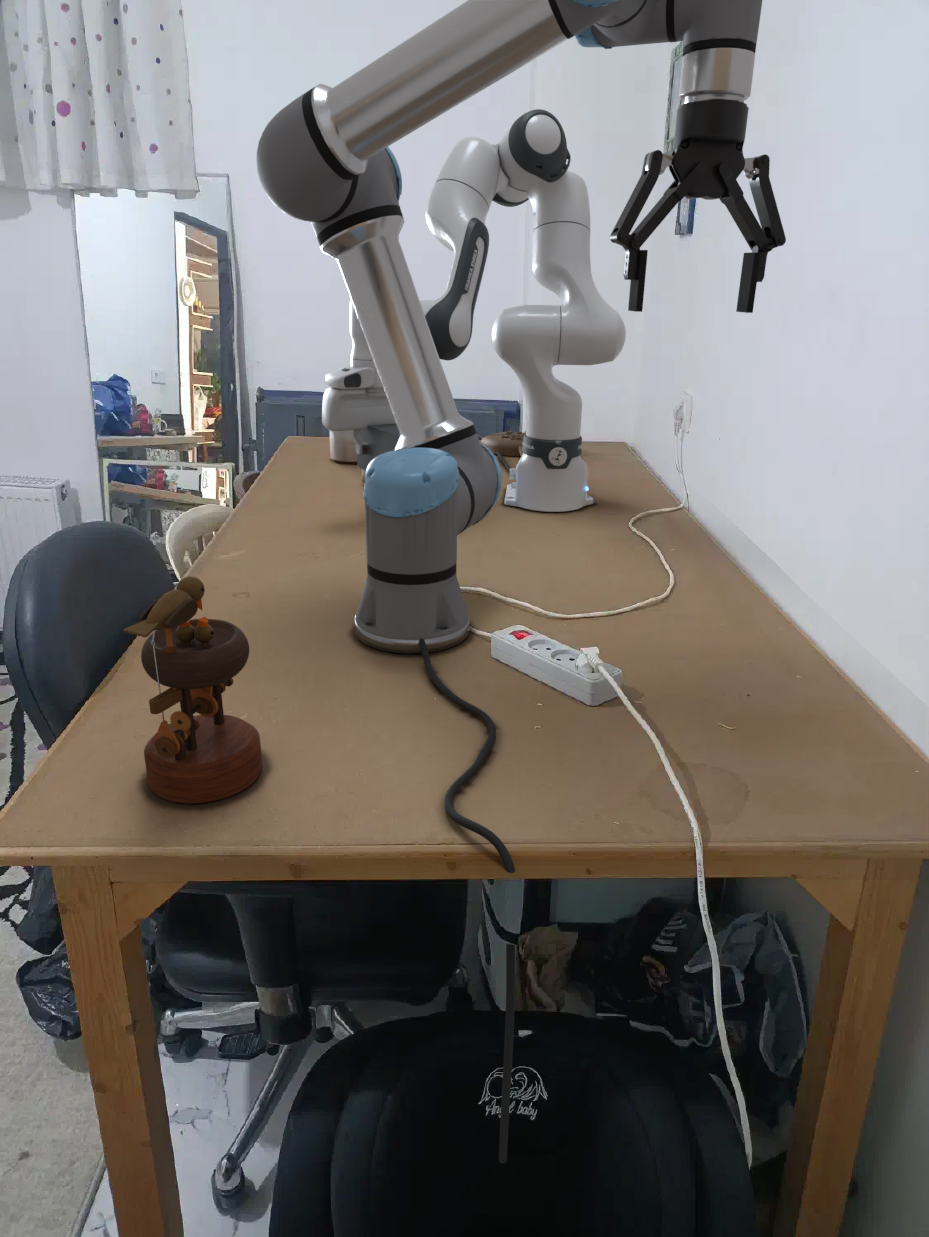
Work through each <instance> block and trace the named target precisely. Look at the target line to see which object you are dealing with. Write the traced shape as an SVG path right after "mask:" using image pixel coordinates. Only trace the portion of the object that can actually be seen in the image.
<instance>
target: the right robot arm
mask: <svg viewBox="0 0 929 1237" xmlns="http://www.w3.org/2000/svg"><path fill="white" fill-rule="evenodd" d="M571 159H572V158H571V154H570V151H569V149H568V143H567V138H566V134H565V131H564V128H563V126H562V124H561V123H560V120H558V118H557V117H556V116H555V115H554V114H553V113H551V112H550V111H548V110H545V109H541V108H540V109H539V108H538V109H532V110H529V111H527V112H525V113H523V114H522V115H521V116H518V118H516V120H515V121H514V122H513V124H512V125H511V127H510V128H509V129H508V130H507V131H506V133H505V134H503V136H502V138H501V139H500V140H499V142H498V143H496V144H491V143H490V142H488V141H487V140H485V139H483V138H481V137H476V136H469V137H465V138H463V139H460V140H459V141H458V142H457V143H456V144H455V145H454V146H453V148H452V149H451V151H450V153H449V155H448V156H447V157H446V159H445V161H444V163H443V165H442V166H441V169H440V170H439V173H438V175H437V177H436V178H435V182H434V184H433V186H432V189H431V190H430V194H429V196H428V199H427V202H426V205H425V206H426V207H425V212H424V213H425V221H426V225H427V227H428V229H429V232H430V233H431V235H432V236H433V237H434V238H435V239H436V240H437V241H438V242H439V243H440V244H441V245H442V246H444V247H445V248H446V249H448V250H450V251H451V252H453V254H454V255H453V260H452V263H451V268H450V272H449V276H448V279H447V284H446V288H445V291H444V293H443V294H441V296H440V297H438V298H436V299H419V301H420V303H421V306H422V309H423V312H424V315H425V318H426V321H427V324H428V327H429V330H430V333H431V335H432V338H433V341H434V344H435V347H436V350H437V353H438V356H439V359H440V360H443V361H452V360H456V359H457V358H459V357H460V356H461V355H462V354H463V353H464V351H465V350H466V349H467V348H468V346H469V345H470V342H471V339H472V334H473V326H474V315H475V314H474V313H475V308H476V304H477V300H478V297H479V292H480V287H481V283H482V279H483V276H484V272H485V268H486V264H487V263H486V262H487V259H488V254H489V248H490V233H489V230H488V228H487V226H486V219H487V216H488V213H489V210H490V208H491V206H492V202H494V203H495V204H497V205H500V206H504V207H508V208H514V207H518V206H521V205H522V204H524V203H526V202H528V201H529V203H530V205H531V208H532V214H533V224H532V227H533V228H532V254H531V255H532V256H531V271H532V275H533V277H534V279H535V280H536V281H537V282H538V283H539V284H540V286H542V287H544V288H545V289H547V290H549V291H551V292H553V293H555V295H557V297H558V298H559V299H560V300H561V302H562V304H559V305H554V304H553V305H552V304H522V305H517V306H513V307H508V308H504V309H502V310H501V311H500V312H499V313H498V315H497V316H496V318H495V319H494V322H493V324H492V328H491V341H492V346H493V349H494V351H495V353H496V354H497V356H498V357H499V358H500V359H501V360H502V361H503V362H504V363H506V364H507V365H508V366H509V367H510V369H512V370H513V372H514V373H515V375H516V377H517V378H518V380H519V382H520V384H521V386H522V390H523V394H524V399H525V431H526V434H525V435H524V438H523V443H522V445H523V447H522V451H523V454H522V457H521V456H520V458H519V460H518V462H517V464H516V467H512V468H511V467H510V466H509V464H508V463H507V461H506V460H505V459H504V457H503V455H501V454H500V452H496V454H495V455H497V457H498V459H499V460H500V461H501V463H502V464H503V466H504V468H505V469H506V470H507V471H508V479H509V480H515V481H512V482H511V483H510V484H507V485H506V490H505V496H504V505H505V506H512V507H518V508H522V509H526V510H529V511H536V512H537V511H538V512H547V513H548V512H549V513H555V512H556V513H559V512H560V513H561V512H571V511H575V510H580V509H582V508H584V507H585V506H590V505H593V504H594V503H595V502H594V498H593V497H591V496H590V495H588V491H589V486H588V464H587V463H586V461H584V460H583V459H582V457H581V455H582V452H583V451H582V450H583V437H582V435H581V432H582V430H581V429H582V415H583V414H582V413H583V399H582V397H581V395H580V392H578V390H576V389H575V388H573V387H572V386H570V385H569V384H567V383H566V382H563V381H561V380H559V379H558V378H557V377H556V376H555V375H554V374H553V367H554V366H594V365H601V364H606V363H610V362H613V361H615V360H616V359H617V357H618V356H619V355H620V354H621V352H622V351H623V348H624V346H625V343H626V337H627V336H626V335H627V333H626V332H627V331H626V325H625V322H624V319H623V318H622V316H621V315H620V314H619V312H618V311H617V310H616V309H614V308H613V307H611V305H609V304H608V303H607V301H606V300H605V299H604V298H603V296H602V295H601V294H600V292H599V290H598V288H597V287H596V284H595V282H594V279H593V274H592V267H591V266H592V265H591V207H590V206H591V205H590V199H589V192H588V187H587V183H586V181H585V180H584V179H583V177H581V176H580V175H579V174H577V173H576V172H572V171H569V170H568V169H569V167H570V165H571ZM349 335H350V338H351V340H352V341H351V342H352V349H351V353H350V364H348V365H346V366H344V367H341V368H338V369H336V370H332V371H331V372H328V373H327V374H325V384H326V385H327V386H328V387H327V388H326V389H325V391H324V392H323V394H322V395H323V396H322V402H321V404H322V406H321V423H322V425H323V427H324V428H325V429H326V430H328V431H329V432H330V431H346V430H349V435H350V436H351V438H352V439H353V441H354V443H355V444H356V453H357V454H366V452H367V450H366V444H364V443H361V441H360V439H359V437H358V436H360V435H361V429H368V425H383V424H396V421H395V419H394V416H393V413H392V410H391V408H390V405H389V402H388V399H387V397H386V394H385V391H384V388H383V386H382V383H381V380H380V377H379V375H378V372H377V369H376V366H375V364H374V361H373V358H372V355H371V352H370V350H369V347H368V344H367V341H366V339H365V336H364V333H363V330H362V328H361V325H360V322H359V319H358V317H357V314H356V311H355V308H354V306H353V303H352V300H351V299H350V301H349ZM476 433H477V436H478V439H480V440H482V438H483V437H484V436H483V435H482V434H480V433H478V432H476Z"/></svg>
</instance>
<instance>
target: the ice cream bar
mask: <svg viewBox="0 0 929 1237" xmlns="http://www.w3.org/2000/svg"><path fill="white" fill-rule="evenodd" d="M525 434H526V430H524V432H522V431H515V432H514V431H512V430H508V431H501V432H494V433H491V434H486V435H485V436H483V438H482V439H480V443H481V444H483V445H484V446H485V447H487V448H488V449H490V450H491V452H492V453H493V454H494V455H497V454H496V452H500V454H501V455H502V456H507V457H509V456H510V457H520V458H521V457H522V454H523V451H522V447H523V445H522V443H523V438H524V435H525Z"/></svg>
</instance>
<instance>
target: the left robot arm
mask: <svg viewBox="0 0 929 1237" xmlns="http://www.w3.org/2000/svg"><path fill="white" fill-rule="evenodd" d="M762 7H763V0H466V1H465V2H463V3H461V4H460V5H458V6H457V7H455V8H454V9H452V10H450V11H449V12H448V13H446V14H445V15H443V16H442V17H439V19H437V20H435V21H434V22H432V23H431V24H429V25H428V26H426V27H425V28H423V29H421V30H420V31H419V32H416V33H415V34H414V35H411V37H409V38H408V39H406V40H404V41H403V42H401V43H400V44H398V45H396V46H395V47H394V48H392V49H391V50H389V51H388V52H386V53H384V54H382V55H381V56H380V57H378V58H376V59H375V60H373V61H372V62H370V63H369V64H368V65H366V66H364V67H363V68H361V69H360V70H358V71H356V72H355V73H353V74H352V75H351V76H349V77H347V78H345V79H344V80H343V81H340V83H338V84H337V85H335V86H333V87H332V86H329V85H326V84H323V83H319V84H317V85H315V86H313V87H312V88H310V89H309V90H307V91H306V92H304V93H303V94H301V95H299V96H298V97H296V98H295V99H294V100H293V101H291V102H289V103H288V104H287V105H286V106H283V108H282V109H280V110H279V111H278V112H277V113H275V115H274V116H273V117H272V118H271V119H270V121H269V122H268V123H267V125H266V126H265V128H264V129H263V131H262V133H261V136H260V138H259V140H258V143H257V148H256V149H257V150H256V171H257V175H258V180H259V182H260V186H261V187H262V189H263V191H264V193H265V194H266V196H267V197H268V199H269V200H270V201H271V203H272V204H273V205H274V206H275V207H276V208H277V209H279V210H280V211H281V212H282V213H284V214H286V215H287V216H289V217H291V218H293V219H296V220H300V221H303V222H308V223H309V222H310V223H311V224H310V225H311V226H312V229H313V232H314V234H315V237H316V239H317V240H316V241H317V243H318V245H319V248H320V250H321V252H322V253H323V254H325V255H326V256H329V257H330V258H332V259H334V260H335V261H336V262H337V264H338V267H339V269H340V272H341V275H342V277H343V281H344V283H345V286H346V288H347V291H348V293H349V297H350V300H352V303H353V306H354V308H355V311H356V314H357V317H358V319H359V322H360V325H361V328H362V330H363V333H364V336H365V339H366V341H367V344H368V347H369V350H370V352H371V355H372V358H373V361H374V364H375V366H376V369H377V372H378V375H379V377H380V380H381V383H382V386H383V388H384V391H385V394H386V397H387V399H388V402H389V405H390V408H391V410H392V413H393V416H394V419H395V421H396V424H397V427H398V430H399V432H400V438H399V440H398V443H397V445H396V447H395V450H394V451H389V452H386V453H384V454H381V455H379V456H377V457H376V458H374V459H373V460H372V461H371V462H370V463H369V464H368V466H367V468H366V472H365V483H364V485H363V490H362V493H363V494H362V495H363V500H364V520H365V550H366V579H365V584H364V586H363V589H362V592H361V596H360V600H359V602H358V606H357V609H356V612H355V615H354V633H355V636H356V638H357V639H358V640H359V641H360V642H362V643H363V644H365V645H367V646H368V647H371V648H374V649H377V650H380V651H384V652H390V653H396V654H397V653H398V654H421V655H422V659H423V662H424V668H425V670H426V672H427V674H428V676H429V678H430V680H431V681H432V683H433V684H434V685H435V686H436V688H438V690H440V692H442V694H444V696H446V697H447V698H448V699H449V700H450V701H451V702H453V703H454V704H456V705H457V706H458V707H461V708H463V709H464V710H466V711H468V712H469V713H471V714H473V715H475V716H477V717H478V718H480V719H481V720H482V721H483V722H484V723H485V725H486V727H487V730H488V735H487V738H486V741H485V743H484V744H483V746H482V748H481V750H480V752H479V753H478V755H477V756H476V759H475V760H474V762H473V763H472V765H471V766H470V767H469V768H468V769H467V770H466V771H465V772H463V773H462V774H461V775H460V776H459V777H457V779H456V780H455V781H454V782H453V783H452V784H451V786H449V788H448V790H446V793H445V797H444V808H445V812H446V815H447V816H448V817H449V818H450V820H452V821H453V822H454V823H456V824H457V825H459V826H461V827H463V828H465V829H467V830H469V831H471V832H473V833H475V834H476V835H479V836H480V837H482V838H483V839H485V840H487V841H488V842H489V843H490V844H491V845H493V847H494V849H495V850H496V851H497V853H498V854H499V856H500V858H501V860H502V863H503V866H504V869H505V871H506V872H507V873H510V874H513V873H515V872H516V868H515V863H514V861H513V858H512V856H511V854H510V852H509V850H508V848H507V846H506V845H505V844H504V843H503V841H502V840H501V839H500V838H499V837H498V835H496V834H495V833H494V832H493V831H492V830H490V829H489V828H488V827H486V826H484V825H482V824H480V823H478V822H476V821H473V820H472V819H470V818H467V817H466V816H465V817H464V816H463V815H462V814H460V813H458V812H457V810H456V809H455V806H454V798H455V796H456V794H457V792H458V791H459V790H460V789H461V788H462V787H463V786H464V785H465V784H466V783H467V782H468V781H469V780H470V779H472V777H473V776H475V775H476V773H478V772H479V770H480V768H481V767H482V765H483V764H484V762H485V761H486V758H487V757H488V754H489V753H490V751H491V749H492V747H493V746H494V744H495V741H496V738H497V730H496V729H497V728H496V725H495V723H494V721H493V719H492V718H491V716H490V715H489V714H488V713H486V712H485V711H484V710H482V709H481V708H479V707H477V706H475V705H474V704H472V703H470V702H468V701H466V700H464V699H462V698H461V697H459V696H457V695H456V694H455V693H454V692H453V691H451V690H450V689H449V687H447V686H446V685H445V684H444V683H443V681H442V680H440V678H439V677H438V675H437V674H436V672H435V670H434V668H433V666H432V662H431V657H430V653H433V652H439V651H443V650H446V649H449V648H452V647H455V646H457V645H458V644H460V643H462V642H463V641H464V640H466V639H467V637H468V636H469V634H470V615H469V612H468V608H467V606H466V601H465V599H464V596H463V593H462V589H461V586H460V583H459V581H458V577H457V561H458V560H457V559H458V558H457V557H458V556H457V554H458V536H459V535H461V534H462V533H463V532H465V531H466V530H467V529H469V528H470V527H472V526H475V525H476V524H478V523H480V522H481V521H482V520H484V518H486V516H487V515H488V514H489V513H490V511H491V510H492V509H493V508H494V506H495V505H496V503H497V501H498V500H499V497H500V494H501V490H502V485H503V474H502V470H501V466H500V463H499V461H498V458H497V457H496V455H495V454H493V453H492V452H491V450H490V449H488V448H487V447H485V446H484V445H483V444H481V440H480V438H479V437H478V436H477V433H478V432H477V430H476V428H475V425H474V422H473V421H472V420H471V419H468V418H466V417H464V416H462V415H461V414H460V413H459V411H458V408H457V405H456V403H455V399H454V397H453V394H452V391H451V388H450V385H449V383H448V382H449V381H448V380H447V376H446V374H445V371H444V367H443V365H442V362H441V359H439V356H438V353H437V350H436V347H435V344H434V341H433V338H432V335H431V333H430V330H429V327H428V324H427V321H426V318H425V315H424V312H423V309H422V306H421V303H420V301H419V300H420V298H419V295H418V292H417V289H416V286H415V283H414V280H413V277H412V274H411V271H410V268H409V266H408V263H407V259H406V257H405V254H404V252H403V248H402V246H401V242H400V234H401V231H402V229H403V226H404V224H405V217H404V215H403V213H402V209H401V206H400V198H401V195H402V191H403V178H402V173H401V172H402V171H401V168H400V165H399V162H398V160H397V158H396V156H395V154H394V153H393V151H392V150H391V148H390V147H389V146H392V145H393V144H395V143H396V142H398V141H399V140H401V139H403V138H405V137H407V136H408V135H410V134H411V133H413V132H415V131H417V130H418V129H420V128H421V127H423V126H425V125H426V124H428V123H429V122H432V121H433V120H436V118H438V117H440V116H442V115H444V114H445V113H447V112H448V111H451V110H452V109H453V108H455V107H457V106H458V105H460V104H462V103H463V102H465V101H467V100H468V99H470V98H472V97H474V96H475V95H477V94H478V93H481V92H482V91H483V90H485V89H487V88H488V87H491V86H492V85H493V84H496V83H497V82H499V81H500V80H502V79H504V78H505V77H506V76H508V75H510V74H512V73H514V72H515V71H517V70H518V69H521V68H522V67H524V66H525V65H527V64H529V63H530V62H532V61H533V60H535V59H537V58H539V57H540V56H543V55H544V54H546V53H547V52H549V51H551V50H553V49H554V48H555V47H557V46H559V45H561V44H562V43H564V42H566V41H568V40H570V39H571V38H575V40H576V42H577V44H578V45H579V46H581V47H583V48H603V49H605V50H611V49H612V48H619V47H631V46H642V45H652V44H654V45H655V44H663V43H678V42H683V49H682V59H681V69H680V77H679V79H680V80H679V90H678V99H679V100H680V102H682V103H683V104H681V105H680V106H679V107H678V108H677V109H676V119H675V129H674V139H673V140H674V141H673V150H672V153H671V154H667V153H663V152H662V151H661V150H660V149H656V150H653V151H650V152H648V153H646V154H645V156H644V159H643V165H642V170H641V175H640V177H639V179H638V181H637V183H636V185H635V186H634V188H633V191H632V193H631V194H630V196H629V198H628V199H627V202H626V204H625V206H624V208H623V210H622V212H621V214H620V216H619V218H618V220H617V221H616V223H615V226H614V227H613V229H612V231H611V233H610V235H609V241H610V242H611V243H613V244H617V245H619V246H620V247H622V248H623V249H624V263H623V279H624V281H629V282H630V284H629V294H628V296H629V297H628V305H627V306H628V308H627V311H628V312H636V313H637V312H639V313H641V312H643V309H644V296H645V286H646V273H647V264H648V263H647V262H648V252H649V249H641V248H642V246H643V245H644V244H645V242H646V241H647V240H648V239H649V237H651V235H653V233H654V232H655V230H656V229H657V228H658V227H660V225H661V223H663V221H664V220H665V219H666V217H667V216H668V215H669V214H670V213H671V212H672V210H673V209H674V208H675V207H676V206H677V204H679V202H680V201H682V200H683V199H684V198H685V200H695V199H703V200H705V201H706V200H707V201H708V200H710V201H712V200H713V201H714V200H719V201H720V203H721V204H723V205H724V206H725V207H726V209H727V211H728V212H729V215H730V216H731V218H732V219H733V221H734V223H735V225H736V227H737V228H738V229H739V232H740V233H741V235H742V237H743V239H744V240H745V242H746V244H747V245H748V246H749V249H750V250H751V252H743V256H742V265H741V271H740V272H741V273H740V280H739V287H738V295H737V303H736V311H735V312H736V313H744V314H753V312H754V305H755V298H756V293H757V292H756V291H757V283H762V282H763V280H764V278H765V273H766V266H767V259H768V254H769V252H772V251H773V250H774V249H776V248H778V247H782V246H784V245H785V244H786V241H787V237H786V234H785V230H784V227H783V222H782V219H781V215H780V212H779V209H778V204H777V201H776V197H775V193H774V191H773V190H774V189H773V186H772V183H771V179H770V162H771V160H770V156H769V155H768V154H761V155H758V156H753V157H745V156H744V153H743V152H744V151H743V150H744V149H743V148H744V144H745V141H746V133H747V125H748V118H749V109H750V108H749V106H748V104H747V103H745V101H747V100H748V99H749V98H750V97H751V93H752V85H753V77H754V70H755V59H756V52H757V43H758V36H759V30H760V22H761V14H762ZM667 168H668V170H669V172H670V174H671V176H672V178H673V181H672V183H671V184H670V185H669V186H668V187H667V189H666V190H664V192H663V195H662V196H661V198H660V199H659V200H658V201H657V202H656V203H655V205H654V206H653V207H652V208H651V209H650V211H649V212H648V213H647V214H646V216H645V217H644V218H643V219H642V220H641V222H639V223H638V225H637V226H636V227H635V229H634V230H633V231H632V229H633V228H634V226H635V224H636V222H637V220H638V218H639V216H640V214H641V212H642V210H643V208H644V206H645V204H646V203H647V201H648V199H649V197H650V195H651V193H652V191H653V189H654V188H655V185H656V183H657V181H658V179H659V177H660V175H663V174H664V173H665V171H666V169H667ZM742 172H744V175H745V177H746V178H747V179H748V183H749V189H750V192H751V195H752V199H753V202H754V206H755V209H756V214H757V217H758V220H759V221H758V220H757V218H756V216H755V214H754V212H753V210H752V208H751V207H750V204H748V202H747V199H746V198H745V196H744V194H745V193H744V191H743V189H742V187H741V185H740V184H739V182H738V180H737V179H738V178H739V177H740V175H741V174H742ZM631 231H632V232H631ZM505 953H506V954H505V960H506V961H505V1022H504V1046H503V1065H502V1086H501V1101H500V1102H501V1103H500V1118H499V1119H500V1120H499V1122H500V1123H499V1124H500V1125H499V1142H498V1144H499V1146H498V1162H499V1163H500V1164H506V1163H507V1162H508V1142H509V1124H510V1123H509V1122H510V1102H511V1086H512V1072H513V1057H514V1056H513V1055H514V1037H515V1034H514V1033H515V1009H516V1008H515V1007H516V1006H515V1004H516V944H511V943H506V944H505Z"/></svg>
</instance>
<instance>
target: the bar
mask: <svg viewBox="0 0 929 1237" xmlns="http://www.w3.org/2000/svg"><path fill="white" fill-rule="evenodd" d="M358 437H359V439H360V441H361V443H364V444H366V450H367V452H366V454H357V463H356V466H357V468H359V469H363V470H365V471H366V468H367V466H368V464H369V463H370V462H371V461H372V460H373V459H374V458H376V457H377V456H379V455H381V454H384V453H386V452H389V451H394V450H395V447H396V445H397V443H398V440H399V438H400V432H399V430H398V427H397V424H383V425H368V429H361V435H360V436H358Z"/></svg>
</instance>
